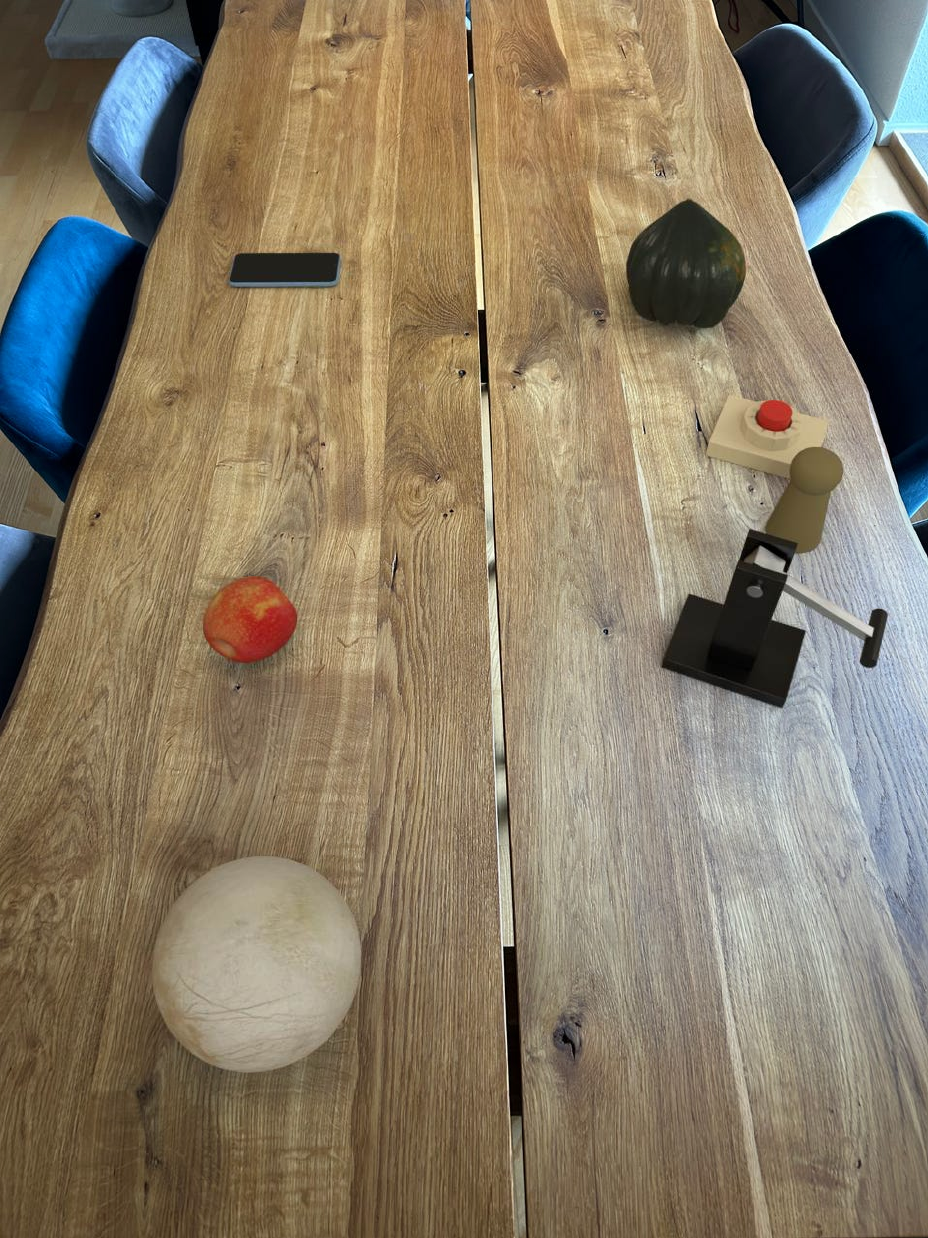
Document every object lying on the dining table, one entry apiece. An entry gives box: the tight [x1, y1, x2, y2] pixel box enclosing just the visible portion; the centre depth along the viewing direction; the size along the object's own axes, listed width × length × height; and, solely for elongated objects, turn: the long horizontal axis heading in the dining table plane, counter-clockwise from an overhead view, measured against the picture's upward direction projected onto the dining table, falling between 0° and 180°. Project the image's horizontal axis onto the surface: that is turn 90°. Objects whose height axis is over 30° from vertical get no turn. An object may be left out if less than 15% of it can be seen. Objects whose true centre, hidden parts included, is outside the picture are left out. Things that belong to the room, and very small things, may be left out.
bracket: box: [660, 528, 807, 709], centre depth 95 cm, size 12×9×15 cm
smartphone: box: [227, 252, 342, 288], centre depth 140 cm, size 7×1×15 cm
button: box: [757, 399, 792, 432], centre depth 115 cm, size 4×4×2 cm
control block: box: [705, 394, 830, 480], centre depth 117 cm, size 12×9×4 cm
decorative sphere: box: [151, 855, 363, 1073], centre depth 74 cm, size 15×15×15 cm
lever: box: [744, 546, 889, 669], centre depth 91 cm, size 14×6×2 cm, turn 66°
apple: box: [202, 575, 298, 664], centre depth 98 cm, size 8×8×8 cm
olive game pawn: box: [764, 446, 844, 554], centre depth 106 cm, size 6×6×11 cm
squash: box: [625, 198, 747, 329], centre depth 130 cm, size 14×15×15 cm
